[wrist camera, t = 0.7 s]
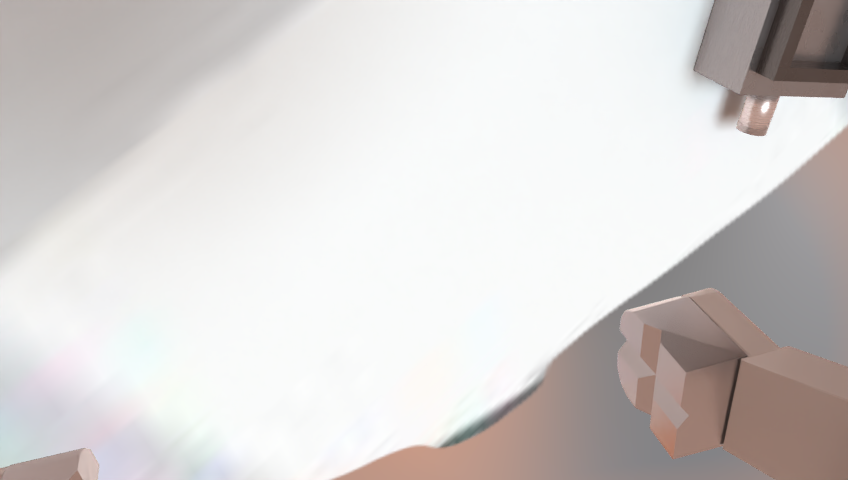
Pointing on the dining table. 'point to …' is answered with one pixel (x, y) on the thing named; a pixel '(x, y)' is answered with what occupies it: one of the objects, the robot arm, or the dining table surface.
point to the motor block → (776, 53)
